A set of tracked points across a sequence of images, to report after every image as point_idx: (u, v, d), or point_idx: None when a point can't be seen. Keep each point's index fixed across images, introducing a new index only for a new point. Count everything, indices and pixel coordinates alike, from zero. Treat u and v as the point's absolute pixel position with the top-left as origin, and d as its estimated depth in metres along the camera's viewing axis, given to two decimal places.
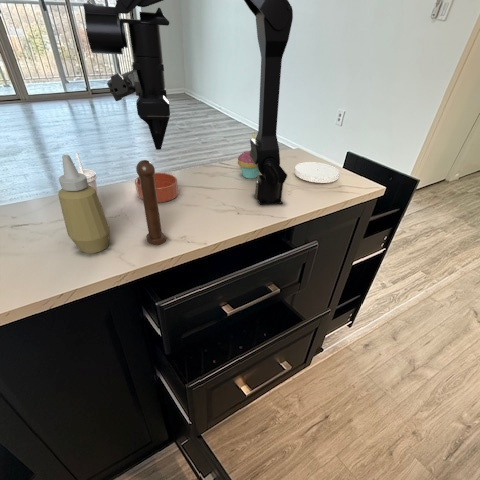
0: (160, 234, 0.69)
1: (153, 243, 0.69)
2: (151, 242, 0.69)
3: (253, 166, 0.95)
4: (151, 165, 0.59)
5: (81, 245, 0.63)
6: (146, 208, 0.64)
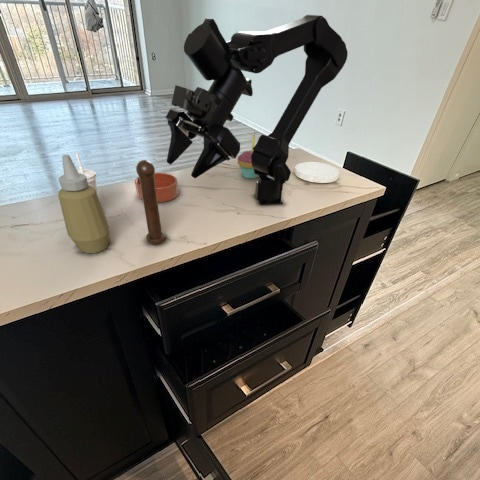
0: (160, 234, 0.69)
1: (153, 243, 0.69)
2: (151, 242, 0.69)
3: None
4: (151, 165, 0.59)
5: (81, 245, 0.63)
6: (146, 208, 0.64)
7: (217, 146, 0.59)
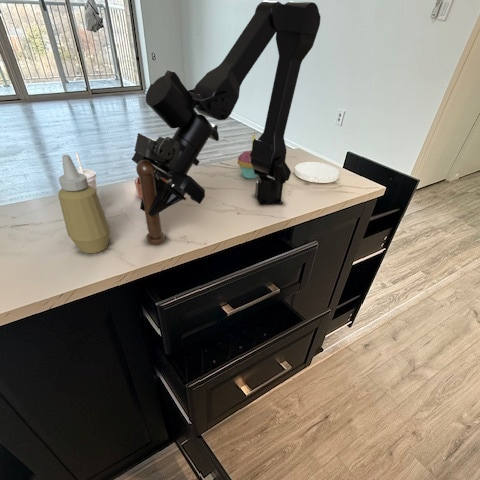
0: (160, 234, 0.69)
1: (153, 243, 0.69)
2: (151, 242, 0.69)
3: None
4: (151, 165, 0.59)
5: (81, 245, 0.63)
6: (146, 208, 0.64)
7: (171, 188, 0.60)
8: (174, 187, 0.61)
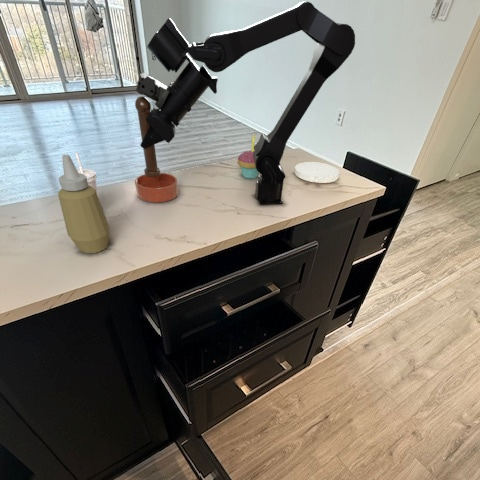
0: (153, 168, 0.80)
1: (146, 174, 0.81)
2: (145, 173, 0.81)
3: (253, 166, 0.95)
4: (145, 101, 0.70)
5: (81, 245, 0.63)
6: (142, 140, 0.76)
7: None
8: None
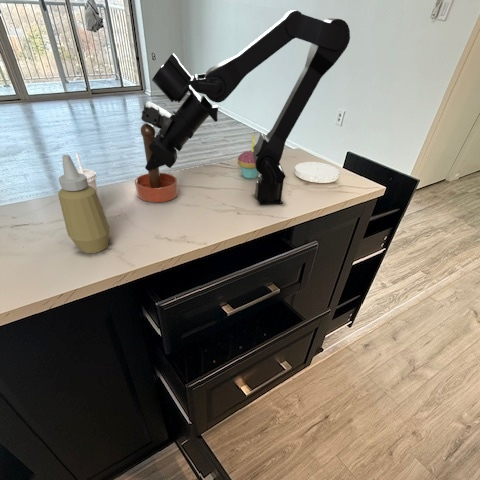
0: None
1: None
2: None
3: (253, 166, 0.95)
4: (149, 128, 0.74)
5: (81, 245, 0.63)
6: None
7: None
8: None
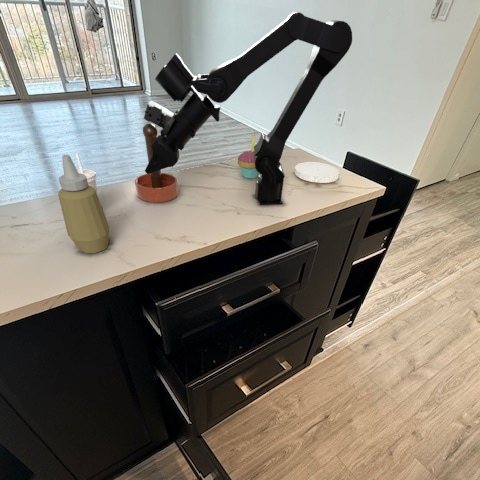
0: None
1: None
2: None
3: (253, 166, 0.95)
4: (151, 128, 0.75)
5: (81, 245, 0.63)
6: None
7: (155, 152, 0.72)
8: None
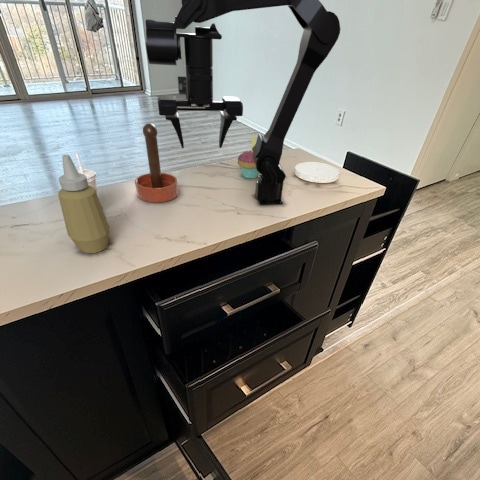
0: None
1: None
2: None
3: (253, 166, 0.95)
4: (151, 128, 0.75)
5: (81, 245, 0.63)
6: None
7: None
8: None
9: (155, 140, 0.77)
